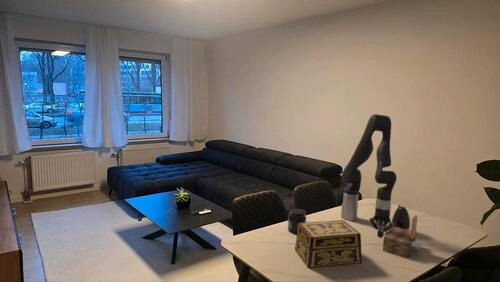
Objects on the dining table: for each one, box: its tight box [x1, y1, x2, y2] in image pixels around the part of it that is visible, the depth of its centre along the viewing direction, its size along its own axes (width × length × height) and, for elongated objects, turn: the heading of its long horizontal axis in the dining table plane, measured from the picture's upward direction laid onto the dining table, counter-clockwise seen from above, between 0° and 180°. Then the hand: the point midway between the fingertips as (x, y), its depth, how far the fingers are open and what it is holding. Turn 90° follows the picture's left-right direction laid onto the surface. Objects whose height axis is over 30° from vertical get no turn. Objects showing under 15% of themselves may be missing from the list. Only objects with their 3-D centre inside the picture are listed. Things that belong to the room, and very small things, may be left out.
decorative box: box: [294, 219, 363, 269], centre depth 157 cm, size 28×19×15 cm
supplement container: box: [287, 208, 307, 235], centre depth 187 cm, size 10×10×12 cm
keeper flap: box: [410, 214, 418, 239], centre depth 163 cm, size 1×8×10 cm, turn 142°
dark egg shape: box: [391, 205, 411, 230], centre depth 189 cm, size 10×10×15 cm
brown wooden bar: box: [383, 231, 422, 251], centre depth 167 cm, size 17×6×6 cm, turn 52°
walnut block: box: [382, 226, 417, 259], centre depth 168 cm, size 12×18×8 cm
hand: (380, 237), depth 174 cm, fingers closed
